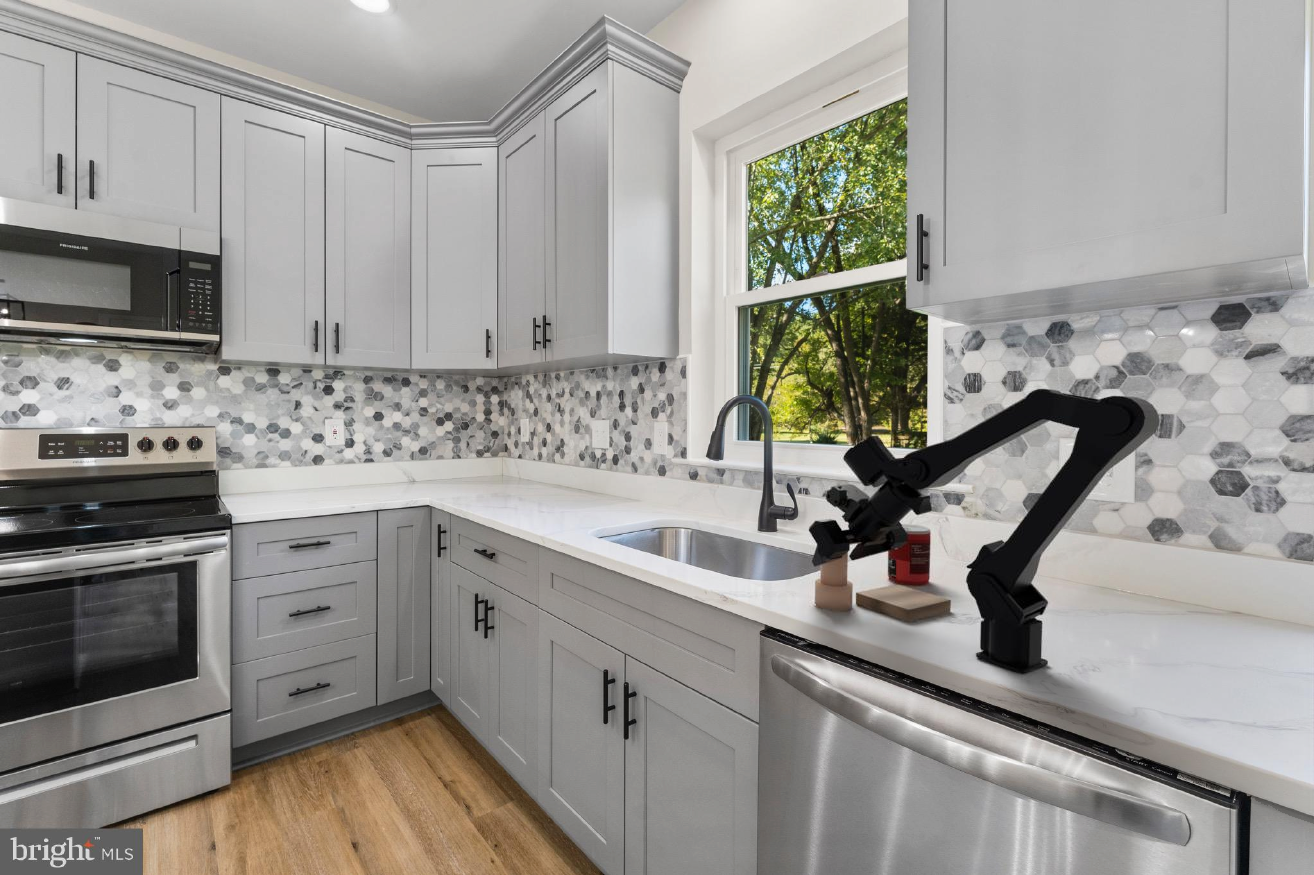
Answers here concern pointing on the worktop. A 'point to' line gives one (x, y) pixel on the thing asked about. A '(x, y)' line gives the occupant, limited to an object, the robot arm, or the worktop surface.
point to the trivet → (903, 602)
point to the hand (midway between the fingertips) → (832, 561)
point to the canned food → (911, 558)
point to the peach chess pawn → (834, 586)
